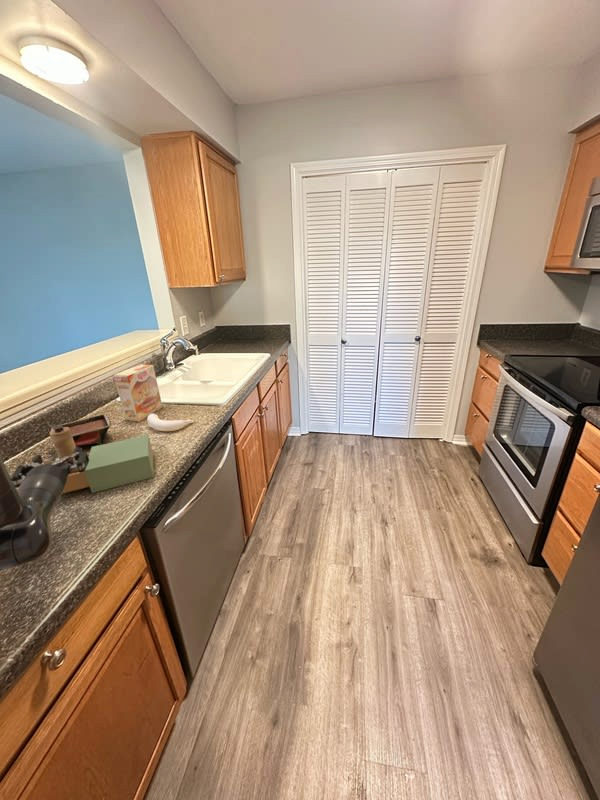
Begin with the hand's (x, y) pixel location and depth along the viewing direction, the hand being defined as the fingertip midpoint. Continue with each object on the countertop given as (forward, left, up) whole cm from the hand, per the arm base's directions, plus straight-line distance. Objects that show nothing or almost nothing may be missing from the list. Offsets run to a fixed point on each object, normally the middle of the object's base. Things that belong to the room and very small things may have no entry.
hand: (59, 453), depth 83 cm
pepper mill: (0, +6, -11) cm, 12 cm away
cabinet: (+12, +6, -13) cm, 19 cm away
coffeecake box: (+17, +51, -13) cm, 55 cm away
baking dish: (-2, +33, -13) cm, 35 cm away
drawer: (0, +6, -12) cm, 13 cm away
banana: (+26, +35, -13) cm, 45 cm away
